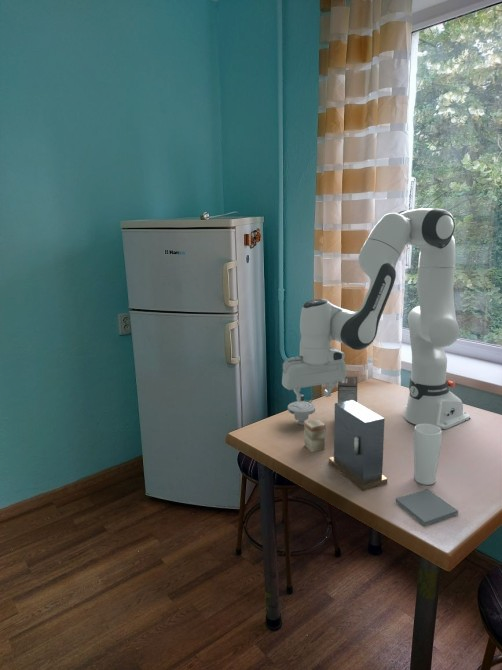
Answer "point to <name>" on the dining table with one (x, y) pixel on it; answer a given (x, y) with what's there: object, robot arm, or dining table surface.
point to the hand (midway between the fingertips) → (313, 398)
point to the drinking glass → (426, 452)
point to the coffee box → (347, 389)
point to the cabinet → (358, 444)
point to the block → (314, 435)
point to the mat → (426, 506)
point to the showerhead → (301, 410)
